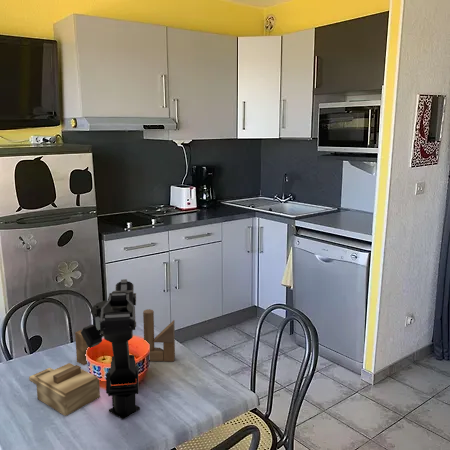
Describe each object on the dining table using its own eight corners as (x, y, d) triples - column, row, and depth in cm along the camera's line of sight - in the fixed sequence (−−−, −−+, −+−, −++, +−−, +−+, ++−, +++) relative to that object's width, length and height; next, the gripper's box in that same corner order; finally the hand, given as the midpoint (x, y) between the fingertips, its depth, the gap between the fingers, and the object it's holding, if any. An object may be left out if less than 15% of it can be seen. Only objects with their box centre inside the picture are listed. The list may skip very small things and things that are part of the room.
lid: (97, 379, 139) (97, 371, 138) (65, 396, 130) (65, 386, 129) (69, 365, 147) (69, 357, 146) (37, 379, 138) (36, 371, 138)
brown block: (93, 360, 162) (92, 331, 160) (83, 365, 159) (82, 335, 157) (86, 357, 165) (84, 328, 162) (76, 361, 161) (75, 332, 159)
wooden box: (100, 397, 140) (99, 379, 139) (65, 416, 131) (64, 397, 130) (50, 370, 155) (49, 353, 154) (16, 385, 146) (15, 368, 145)
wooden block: (173, 362, 162) (173, 313, 158) (143, 361, 162) (141, 312, 159) (175, 356, 166) (174, 309, 162) (144, 356, 166) (143, 308, 162)
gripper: (129, 288, 156) (109, 311, 164) (82, 304, 141) (63, 329, 149) (146, 316, 153) (124, 338, 161) (100, 335, 138) (79, 359, 146)
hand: (98, 340), depth 155 cm, fingers open, 9 cm apart
